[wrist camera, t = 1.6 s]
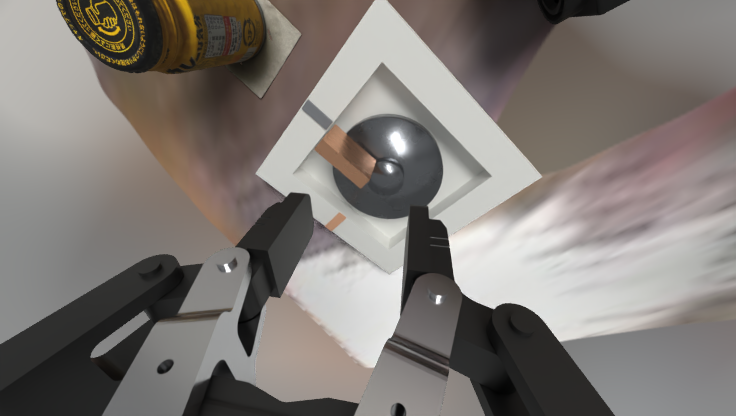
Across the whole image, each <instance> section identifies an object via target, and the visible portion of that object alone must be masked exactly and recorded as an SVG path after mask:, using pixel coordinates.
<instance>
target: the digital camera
mask: <svg viewBox="0 0 736 416" xmlns="http://www.w3.org/2000/svg"><path fill="white" fill-rule="evenodd" d="M537 1H538V4H539V7H540V9H541V11H542V13H543V15H544V16H545V18H546V19H547V20H548V21H549V22H550V23H552V24H558V23H560V22H562V21H564V20H565V19H567V18H569V17H579V16H593V15H602V14H605V13H606V12H608V11H610V10H612V9H614V8H616V7H617V6H620V5H621V4H623V3H625V2H627V1H629V0H537Z"/></svg>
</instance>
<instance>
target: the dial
mask: <svg viewBox="0 0 736 416" xmlns="http://www.w3.org/2000/svg"><path fill="white" fill-rule="evenodd" d="M314 150H315V151H316V152H317V153H319V154H320V155H321V156H322V157H323V158H325V159H326V160H327V161H328V162H329V163H330V164H332V165H333V176H334V180H335V183H336V185H337V188H338V189H339V191H340V193H341V194H342V196H343V197H344V198H345V199H346V201H347V202H348V203H350V204H351V205H352V206H353V207H355V208H356V209H357V210H359V211H361V212H363V213H365V214H367V215H370V216H373V217H377V218H383V219H397V218H403V217H407V216H408V215H409V208H410V204H412V205H422V206H427V205H428V204H429V203H430V202H431V201H432V200H433V199H434V197H435V196H436V194H437V193H438V191H439V189H440V186H441V183H442V179H443V162H442V156H441V152H440V148H439V146H438V144H437V142H436V140H435V139H434V137H433V136H432V134H431V133H430V132H429V131H428V130H427V129H426V128H425V127H424V126H423V125H421V124H420V123H418V122H417V121H415V120H413V119H411V118H408V117H405V116H402V115H397V114H378V115H374V116H370V117H368V118H365V119H363V120H361V121H359V122H358V123H356V124H355V125H354V126H352V127H351V128H350V129H349V130H348V131H347V133H345V132H344V131H343V130H342V129H341V128H339V127H338V126H337V125H336V124H335V125H334V126H333V127H332V128H331V130H330V131H329V132H328V133H327V134H326V135H325V136H324V138H323V139H322V140H321V141H320V142H319V144H318V145H317V146H316V147H315V149H314Z"/></svg>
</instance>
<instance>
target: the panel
mask: <svg viewBox="0 0 736 416" xmlns="http://www.w3.org/2000/svg"><path fill="white" fill-rule="evenodd" d="M378 114H397V115H402V116H405V117H408V118H411V119H413V120H415V121H417V122H418V123H420V124H421V125H423V126H424V127H425V128H426V129H427V130H428V131H429V132H430V133H431V134H432V136H433V137H434V139H435V140H436V142H437V144H438V146H439V148H440V152H441V156H442V162H443V179H442V183H441V186H440V189H439V191H438V193H437V194H436V196H435V197H434V199H433V200H432V201H431V202H430V203H429V204H428V205H427V206H428V208H429V219H436V220H441V221H442V223H443V224H444V225H445V227H446V228H447V232H448V237H449V236H450V235H452V234H453V233H455V232H457V231H458V230H460V229H461V228H463V227H464V226H466V225H468V224H469V223H471V222H472V221H474V220H475V219H477V218H479V217H480V216H482V215H483V214H485V213H486V212H488V211H490V210H491V209H493V208H494V207H496V206H497V205H499V204H501V203H502V202H504V201H505V200H507V199H508V198H510V197H512V196H513V195H515V194H516V193H518V192H519V191H521V190H522V189H524V188H526V187H527V186H529V185H530V184H532V183H533V182H535V181H537V180H538V179H540V178H541V177H542V176H541V175H540V174H539V172H538V171H537V170H536V169H535V167H534V166H533V165H532V164H531V163H530V162H529V161H528V159H527V158H526V157H525V156H524V155H523V154H522V153H521V151H520V150H519V149H518V148H517V147H516V146H515V145H514V144H513V143H512V141H511V140H510V139H509V138H508V137H507V136H506V134H505V133H504V132H503V131H502V130H501V129H500V128H499V127H498V126H497V124H496V123H495V122H494V121H493V120H492V119H491V117H490V116H489V115H488V114H487V113H486V112H485V111H484V110H483V108H482V107H481V106H480V105H479V104H478V103H477V102H476V100H475V99H474V98H473V97H472V96H471V95H470V94H469V93H468V91H467V90H466V89H465V88H464V87H463V86H462V85H461V83H460V82H459V81H458V80H457V79H456V78H455V77H454V76H453V74H452V73H451V72H450V71H449V70H448V69H447V68H446V67H445V65H444V64H443V63H442V62H441V61H440V60H439V59H438V57H437V56H436V55H435V54H434V53H433V52H432V51H431V50H430V48H429V47H428V46H427V45H426V44H425V43H424V42H423V40H422V39H421V38H420V37H419V36H418V35H417V34H416V33H415V31H414V30H413V29H412V28H411V27H410V26H409V25H408V23H407V22H406V21H405V20H404V19H403V18H402V17H401V16H400V14H399V13H398V12H397V11H396V10H395V9H394V8H393V6H392V5H391V4H390V3H389V2H388V1H387V0H375V1H374V2H373V4H372V5H371V7H370V8H369V10H368V11H367V13H366V14H365V15H364V17H363V18H362V20H361V21H360V23H359V24H358V26H357V27H356V29H355V30H354V31H353V33H352V34H351V36H350V37H349V39H348V40H347V42H346V43H345V45H344V46H343V47H342V49H341V50H340V52H339V53H338V55H337V56H336V58H335V59H334V60H333V62H332V63H331V65H330V66H329V68H328V69H327V71H326V72H325V74H324V75H323V76H322V78H321V79H320V81H319V82H318V84H317V85H316V87H315V88H314V90H313V91H312V92H311V94H310V95H309V97H308V98H307V100H306V101H305V103H304V104H303V106H302V107H301V108H300V110H299V111H298V113H297V114H296V116H295V117H294V119H293V120H292V122H291V123H290V124H289V126H288V127H287V129H286V130H285V132H284V133H283V135H282V136H281V138H280V139H279V140H278V142H277V143H276V145H275V146H274V148H273V149H272V151H271V152H270V154H269V155H268V156H267V158H266V159H265V161H264V162H263V164H262V165H261V167H260V168H259V169H258V171H257V172H256V174H257V175H258V176H259V177H261V178H262V179H263V180H265V181H266V182H267V183H269V184H270V185H271V186H272V187H274V188H275V189H276V190H278V191H279V192H280V193H282V194H283V195H284V196H286V197H287V196H288V194H289V193H290V192H296V193H306V194H309V195H310V198H311V205H312V213H313V217H314V218H315V219H316V220H318V221H319V222H320V223H322V224H323V225H324V226H325V227H326V228H328V229H329V230H330V231H332V232H334V233H335V234H336V235H338V236H339V237H340V238H342V239H343V240H344V241H346V242H347V243H348V244H350V245H351V246H352V247H354V248H355V249H356V250H358V251H359V252H360V253H362V254H363V255H364V256H366V257H367V258H368V259H369V260H371V261H372V262H373V263H375V264H376V265H377V266H379V267H380V268H381V269H383V270H384V271H385V272H387V273H388V274H391V273H392V272H394V271H395V270H397V269H399V268H400V267H402V266H403V265H404V251H405V239H406V231H407V223H408V216H407V217H403V218H397V219H383V218H377V217H373V216H370V215H367V214H365V213H363V212H361V211H359V210H357V209H356V208H355V207H353V206H352V205H351V204H350V203H348V202H347V201H346V199H345V198H344V197H343V196H342V194H341V193H340V191H339V189H338V188H337V185H336V183H335V180H334V176H333V165H332V164H330V163H329V162H328V161H327V160H326V159H325V158H323V157H322V156H321V155H320V154H319V153H317V152H316V151H315V150H314V149H315V147H316V146H317V145H318V144H319V142H320V141H321V140H322V139H323V138H324V136H325V135H326V134H327V133H328V132H329V131H330V130H331V128H332V127H333V126H334V125H335V124H336V125H337V126H338V127H339V128H341V129H342V130H343V131H344V132H345V133H347V131H348V130H349V129H350V128H351V127H352V126H354V125H355V124H356V123H358V122H359V121H361V120H363V119H365V118H368V117H370V116H374V115H378Z"/></svg>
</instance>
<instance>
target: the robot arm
mask: <svg viewBox="0 0 736 416" xmlns="http://www.w3.org/2000/svg"><path fill="white" fill-rule="evenodd" d="M313 229H314V221H313V213H312V205H311V198H310V195H309V194H306V193H296V192H290V193H289V194H288V196H287V197H286V198H285V200H284V201H283V202H282V203H280V202H277V203H276V204H274V205H272V206H271V207H269V208H268V209H267V210H266V211H265V212H264V213H263V214H262V216H261V218H259V219H258V220H257V222H256V223H255V225H253V226H252V227H251V229H250V230H249V231H248V232H247V233H246V235H245V236H244V237H243V238H242V239H241V241H240V242H239V243H238V244H237V245H236V247H232V248H226V249H223V250H220V251H218V252H216V253H214V254H213V255H211V256H210V257H209V258H208V259H207V260H206V261H205V262H204V263H203V264H195V265H186V266H180V265H179V263H178V261H177V259H176V258H175V257H174V256H172V255H168V254H166V255H165V254H163V255H156V256H152V257H149V258H146V259H144V260H142V261H140V262H139V263H136V264H135V265H133V266H132V267H130V268H128V269H126V270H125V271H123V272H121V273H120V274H118V275H116V276H115V277H113V278H111V279H110V280H108V281H106V282H105V283H103V284H101V285H100V286H98V287H96V288H94V289H93V290H91V291H89V292H88V293H86V294H84V295H83V296H81V297H79V298H78V299H76V300H74V301H73V302H71V303H69V304H68V305H66V306H64V307H63V308H61V309H59V310H58V311H56V312H54V313H53V314H51V315H49V316H48V317H46V318H44V319H42V320H41V321H39V322H37V323H36V324H34V325H32V326H31V327H29V328H27V329H26V330H24V331H22V332H21V333H19V334H17V335H16V336H14V337H12V338H11V339H9V340H7V341H5V342H4V343H2V344H0V416H440V413H441V408H442V404H443V398H444V393H445V389H446V384H447V379H448V374H449V368H451V369H453V370H455V371H457V372H459V373H461V374H463V375H465V376H467V377H469V378H470V381H471V383H472V385H473V388H474V390H475V392H476V395H477V397H478V399H479V402H480V404H481V406H482V409H483V411H484V414H485V416H615V415H614V414H613V412H612V411H611V410H610V408H609V407H608V406H607V404H606V403H605V402H604V400H603V399H602V398H601V396H600V395H599V394H598V393H597V391H596V390H595V389H594V387H593V386H592V385H591V383H590V382H589V381H588V380H587V378H586V377H585V375H584V374H583V373H582V371H581V370H580V369H579V367H578V366H577V365H576V364H575V362H574V361H573V359H572V358H571V357H570V356H569V354H568V353H567V352H566V350H565V349H564V348H563V346H562V345H561V344H560V342H559V341H558V340H557V338H556V337H555V336H554V334H553V333H552V332H551V330H550V329H549V328H548V326H547V325H546V324H545V322H544V321H543V320H542V319H541V318H540V317H539V316H538V315H537V314H535V313H534V312H533V311H531V310H529V309H528V308H526V307H523V306H521V305H517V304H512V303H505V304H501V305H499V306H497V307H496V308H495V309H491V308H489V307H486V306H484V305H482V304H479V303H477V302H475V301H473V300H471V299H469V298H468V297H466V296H465V295H464V294H463V293H462V292H461V290H460V288H459V286H458V285H457V284H456V283H455V281H454V276H453V268H452V261H451V254H450V248H449V240H448V232H447V228H446V227H445V225H444V224H443V223H442V221H441V220H436V219H429V208H428V206H422V205H412V204H410V208H409V215H408V223H407V231H406V239H405V251H404V266H403V281H402V296H401V311H400V319H399V322H398V324H397V326H396V329H395V331H394V333H393V336H392V337H391V338H389V339H388V340H387V342H386V343H385V345H384V347H383V350H382V352H381V354H380V357H379V359H378V361H377V364H376V366H375V368H374V371H373V373H372V375H371V378H370V380H369V382H368V385H367V387H366V390H365V392H364V394H363V396H362V399H361V401H360V403H359V404H357V403H353V402H347V401H342V400H337V399H332V398H323V399H314V400H305V401H296V402H281V401H279V400H278V399H276V398H274V397H273V396H271V395H269V394H267V393H266V392H264V391H263V390H261V389H259V388H258V387H256V373H255V362H256V357H257V352H258V347H259V343H260V338H261V333H262V329H263V324H264V319H265V315H266V306H265V303H266V301H267V299H268V298H269V296H271V297H278V298H280V297H281V295H282V293H283V291H284V289H285V287H286V285H287V283H288V282H289V280H290V278H291V276H292V274H293V272H294V270H295V268H296V266H297V264H298V262H299V260H300V258H301V256H302V254H303V252H304V250H305V249H306V247H307V245H308V243H309V241H310V239H311V237H312V234H313ZM142 311H144V312H145V313H146V314H147V316H148V317H149V318H150V320H149V321H147V322H146V323H145V324H143V325H142V326H141V327H140V328H138V329H137V330H136V331H134V332H133V333H132V334H130V335H129V336H128V337H127V338H125V339H124V340H122V341H121V342H120V343H119V344H117V345H116V346H115V347H113V348H112V349H111V350H109V351H108V352H107V353H106V354H104V355H101V356H99V357H96V358H90V356H91V352H92V351H93V349H94V348H95V346H96V345H98V344H99V343H100V342H101V341H102V340H104V339H105V338H106V337H108V336H109V335H111V334H112V333H113V332H115V331H116V330H117V329H119V328H120V327H122V326H123V325H124V324H126V323H127V322H128V321H130V320H131V319H132V318H134V317H135V316H137V315H138V314H139V313H141V312H142Z"/></svg>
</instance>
